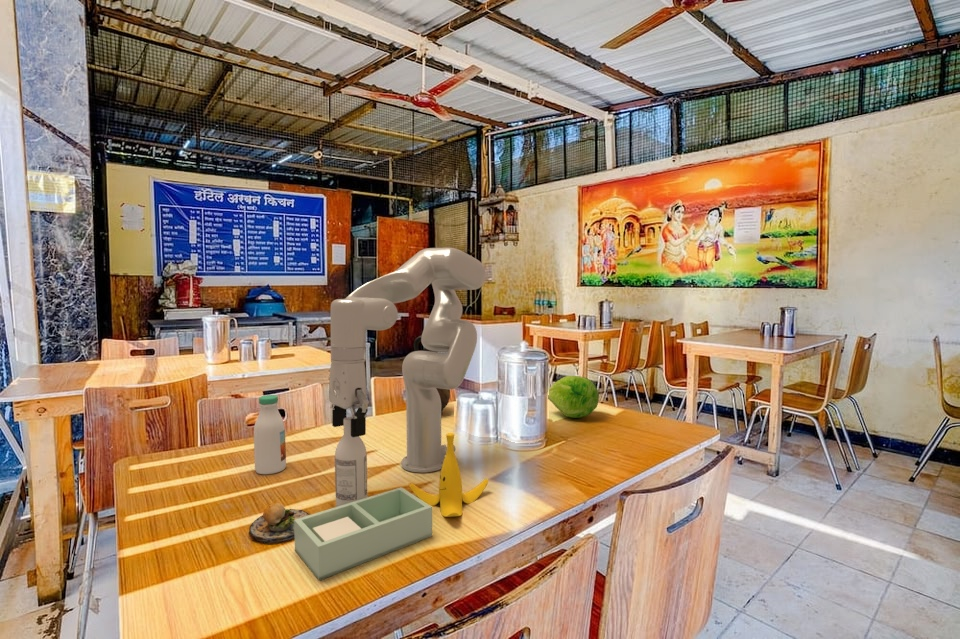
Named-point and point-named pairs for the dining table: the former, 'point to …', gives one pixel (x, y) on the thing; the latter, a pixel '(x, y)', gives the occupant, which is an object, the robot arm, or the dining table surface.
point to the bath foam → (350, 467)
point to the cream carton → (335, 529)
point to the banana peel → (450, 486)
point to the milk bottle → (269, 437)
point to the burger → (275, 524)
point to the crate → (363, 531)
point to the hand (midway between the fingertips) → (348, 430)
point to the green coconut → (574, 396)
